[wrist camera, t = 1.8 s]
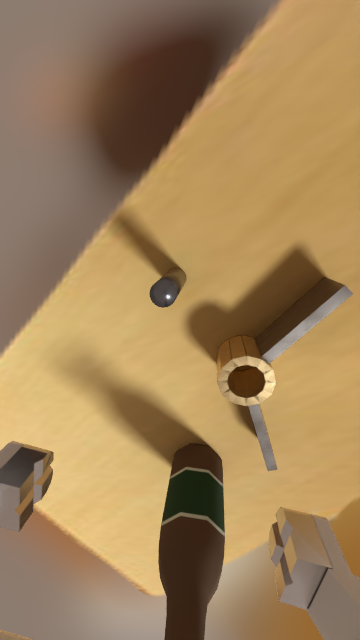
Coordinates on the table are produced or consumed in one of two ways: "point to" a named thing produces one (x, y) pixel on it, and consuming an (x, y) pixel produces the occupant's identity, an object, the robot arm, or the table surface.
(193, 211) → the table surface
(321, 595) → the robot arm
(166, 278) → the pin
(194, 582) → the beer bottle
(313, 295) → the hinge
